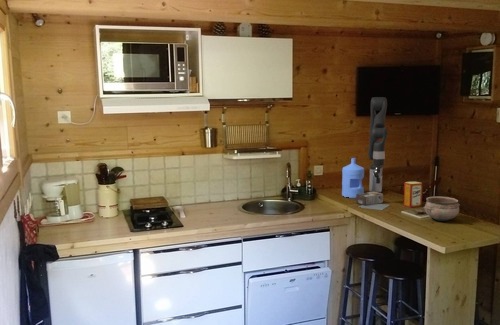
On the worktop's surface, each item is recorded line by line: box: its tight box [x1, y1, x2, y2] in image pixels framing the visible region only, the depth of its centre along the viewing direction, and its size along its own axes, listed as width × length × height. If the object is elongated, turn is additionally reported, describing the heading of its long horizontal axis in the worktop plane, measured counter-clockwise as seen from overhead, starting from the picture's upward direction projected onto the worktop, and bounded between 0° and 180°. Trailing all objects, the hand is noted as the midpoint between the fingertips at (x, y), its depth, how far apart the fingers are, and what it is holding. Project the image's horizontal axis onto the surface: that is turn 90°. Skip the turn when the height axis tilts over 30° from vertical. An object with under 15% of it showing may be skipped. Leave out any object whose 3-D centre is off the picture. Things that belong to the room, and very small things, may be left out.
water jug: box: [341, 157, 365, 199], centre depth 340 cm, size 16×16×28 cm
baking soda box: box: [403, 181, 424, 209], centre depth 310 cm, size 10×6×16 cm
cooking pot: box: [423, 196, 461, 222], centre depth 276 cm, size 25×19×12 cm
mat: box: [358, 203, 391, 211], centre depth 311 cm, size 16×16×1 cm
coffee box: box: [355, 191, 384, 206], centre depth 319 cm, size 9×6×16 cm
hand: (378, 183), depth 315 cm, fingers closed
